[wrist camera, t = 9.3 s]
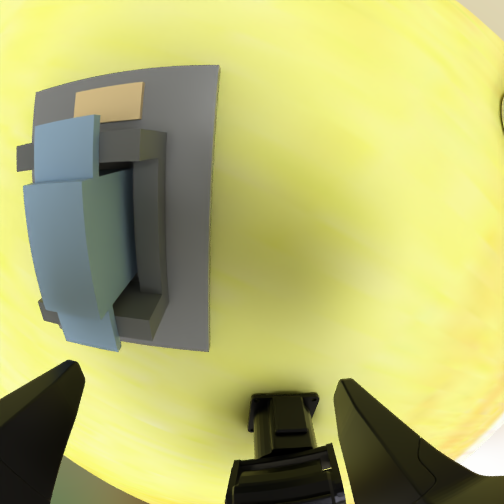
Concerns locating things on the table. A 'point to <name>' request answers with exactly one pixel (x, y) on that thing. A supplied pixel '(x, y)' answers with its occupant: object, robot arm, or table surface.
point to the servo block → (80, 230)
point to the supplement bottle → (503, 111)
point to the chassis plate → (153, 190)
